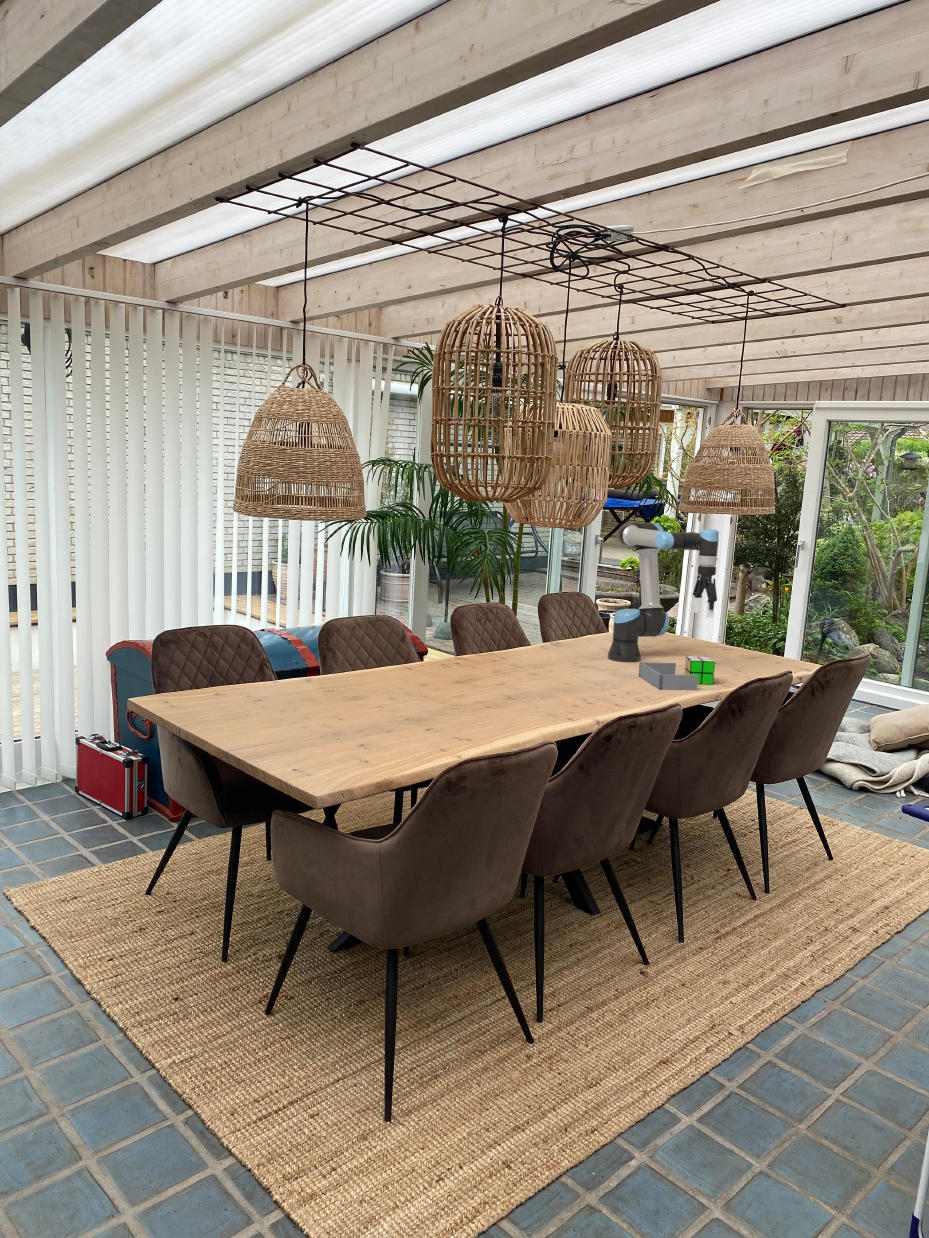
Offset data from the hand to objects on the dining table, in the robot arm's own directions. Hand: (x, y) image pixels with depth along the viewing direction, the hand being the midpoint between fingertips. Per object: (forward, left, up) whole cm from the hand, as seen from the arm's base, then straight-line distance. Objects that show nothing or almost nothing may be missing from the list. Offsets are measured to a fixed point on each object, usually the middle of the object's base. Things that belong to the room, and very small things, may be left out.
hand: (703, 615), depth 383 cm
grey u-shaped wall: (+15, -20, -27) cm, 37 cm away
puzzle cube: (+12, -5, -27) cm, 30 cm away
